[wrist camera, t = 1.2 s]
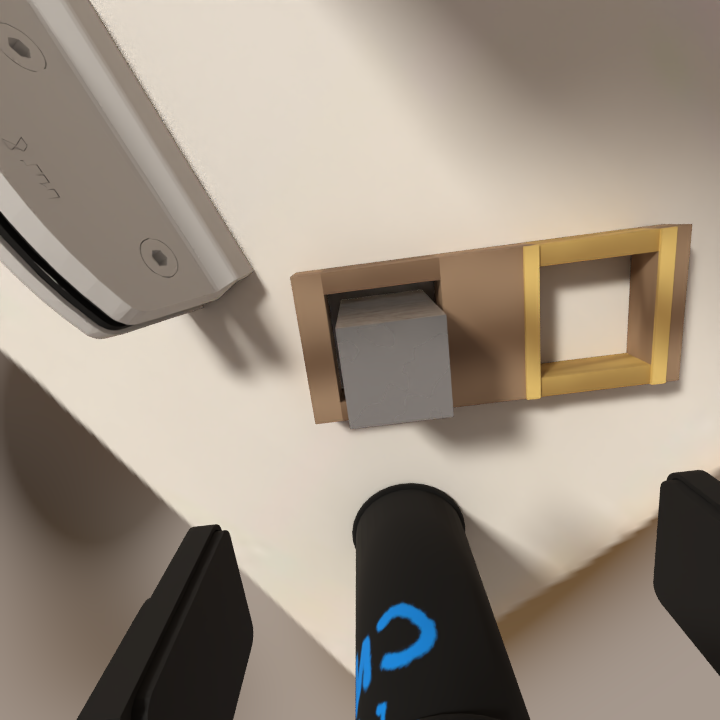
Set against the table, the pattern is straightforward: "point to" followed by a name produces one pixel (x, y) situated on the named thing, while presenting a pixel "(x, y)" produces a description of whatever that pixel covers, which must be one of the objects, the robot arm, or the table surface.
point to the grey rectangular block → (394, 359)
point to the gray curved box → (98, 181)
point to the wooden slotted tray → (512, 316)
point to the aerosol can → (425, 616)
